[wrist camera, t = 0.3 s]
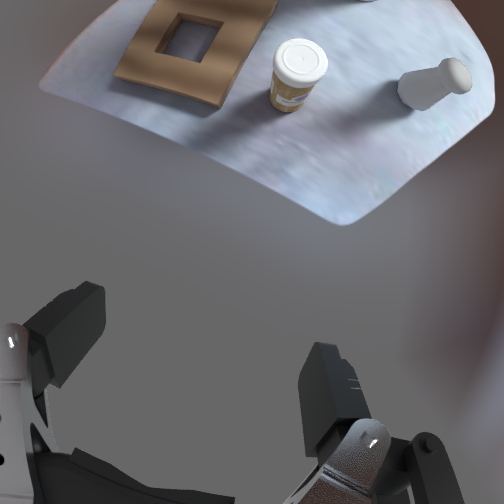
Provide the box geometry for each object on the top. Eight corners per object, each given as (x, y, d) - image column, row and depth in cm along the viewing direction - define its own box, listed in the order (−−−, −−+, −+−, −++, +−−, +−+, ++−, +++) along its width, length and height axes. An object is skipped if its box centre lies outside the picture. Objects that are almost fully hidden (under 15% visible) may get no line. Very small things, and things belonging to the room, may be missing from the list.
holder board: (177, -14, 25) (173, -21, 22) (276, 8, 26) (277, -1, 24) (121, 79, 30) (113, 75, 28) (220, 108, 31) (217, 104, 29)
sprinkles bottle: (285, 119, 32) (300, 92, 19) (261, 94, 31) (261, 54, 18) (312, 99, 31) (340, 64, 18) (288, 74, 30) (302, 28, 17)
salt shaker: (422, 119, 30) (479, 108, 18) (389, 104, 30) (442, 83, 18) (425, 85, 28) (479, 65, 16) (393, 70, 28) (442, 40, 16)
